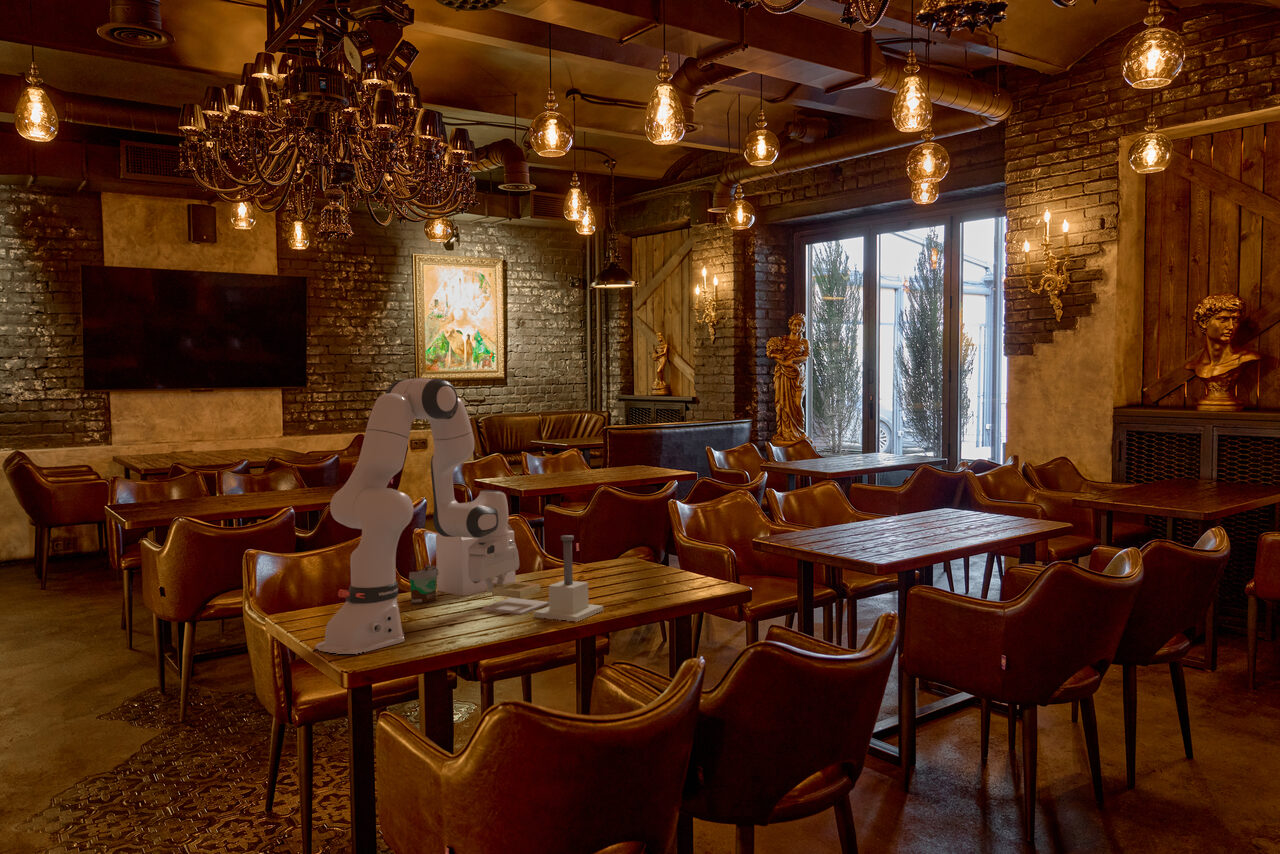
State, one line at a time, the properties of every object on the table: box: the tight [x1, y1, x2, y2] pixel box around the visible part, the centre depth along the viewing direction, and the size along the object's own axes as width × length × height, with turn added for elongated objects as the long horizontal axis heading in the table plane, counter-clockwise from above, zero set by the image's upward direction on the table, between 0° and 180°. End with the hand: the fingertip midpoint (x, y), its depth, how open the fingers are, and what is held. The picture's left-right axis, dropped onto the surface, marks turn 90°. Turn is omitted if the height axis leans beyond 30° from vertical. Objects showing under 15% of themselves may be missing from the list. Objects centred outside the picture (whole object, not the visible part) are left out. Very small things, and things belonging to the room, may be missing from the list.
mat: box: [481, 597, 549, 615], centre depth 264 cm, size 14×14×1 cm
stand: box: [533, 534, 604, 623], centre depth 253 cm, size 14×14×22 cm
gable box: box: [435, 501, 517, 597], centre depth 291 cm, size 22×13×28 cm, turn 139°
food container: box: [408, 564, 439, 606], centre depth 273 cm, size 12×6×10 cm, turn 168°
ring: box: [486, 581, 541, 599], centre depth 265 cm, size 10×15×2 cm, turn 62°
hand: (495, 590), depth 267 cm, fingers closed on ring, 2 cm apart
